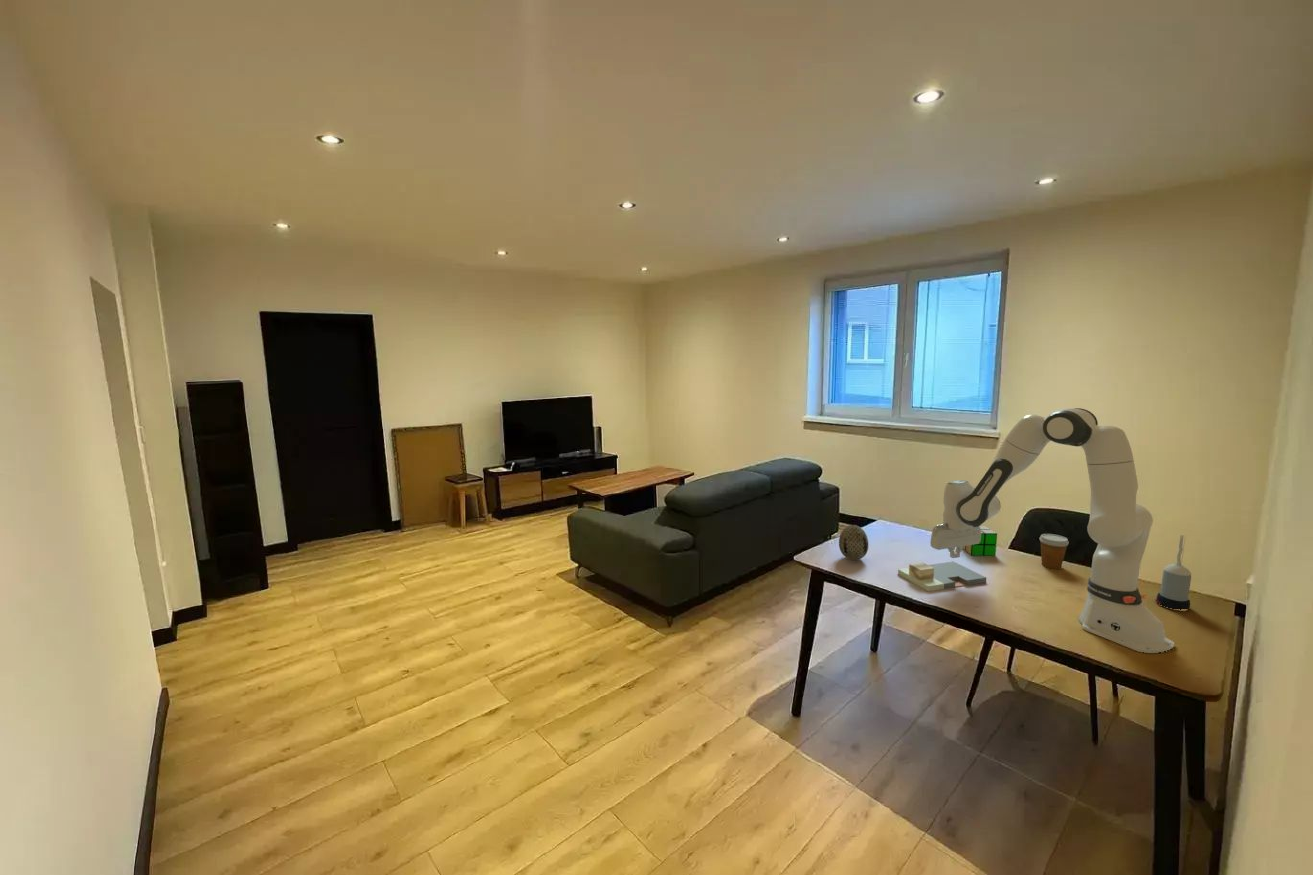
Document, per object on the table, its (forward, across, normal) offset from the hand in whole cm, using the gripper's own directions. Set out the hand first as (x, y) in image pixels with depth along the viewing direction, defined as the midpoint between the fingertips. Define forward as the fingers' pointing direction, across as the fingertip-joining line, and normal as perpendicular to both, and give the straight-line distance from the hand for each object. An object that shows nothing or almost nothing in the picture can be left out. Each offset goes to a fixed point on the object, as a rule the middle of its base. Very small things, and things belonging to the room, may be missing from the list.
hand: (954, 557), depth 201 cm
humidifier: (+11, +52, -39) cm, 66 cm away
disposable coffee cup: (+9, +46, -2) cm, 47 cm away
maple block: (+6, -13, +2) cm, 15 cm away
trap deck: (+8, -4, +2) cm, 10 cm away
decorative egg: (+8, -25, +28) cm, 38 cm away
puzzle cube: (+9, +31, +20) cm, 38 cm away
